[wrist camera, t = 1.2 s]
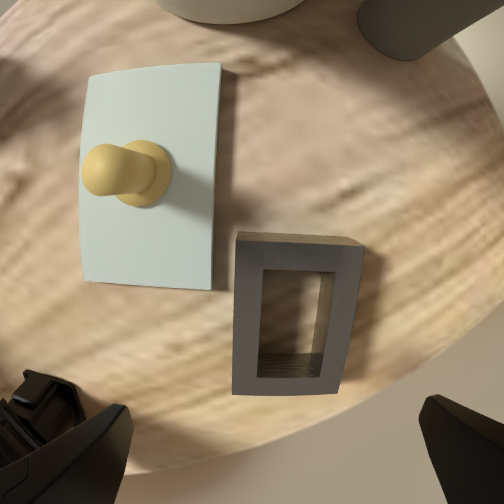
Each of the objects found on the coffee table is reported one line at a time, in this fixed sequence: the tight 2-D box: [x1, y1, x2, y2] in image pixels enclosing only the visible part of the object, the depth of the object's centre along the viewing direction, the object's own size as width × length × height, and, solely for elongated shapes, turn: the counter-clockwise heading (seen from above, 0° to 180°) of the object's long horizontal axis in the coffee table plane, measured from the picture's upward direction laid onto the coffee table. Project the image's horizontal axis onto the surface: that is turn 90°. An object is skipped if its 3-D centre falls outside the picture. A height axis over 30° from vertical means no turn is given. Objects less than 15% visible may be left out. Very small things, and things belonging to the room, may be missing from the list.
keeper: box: [79, 63, 222, 290], centre depth 15 cm, size 14×9×6 cm, turn 177°
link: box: [232, 232, 364, 396], centre depth 18 cm, size 10×7×3 cm
